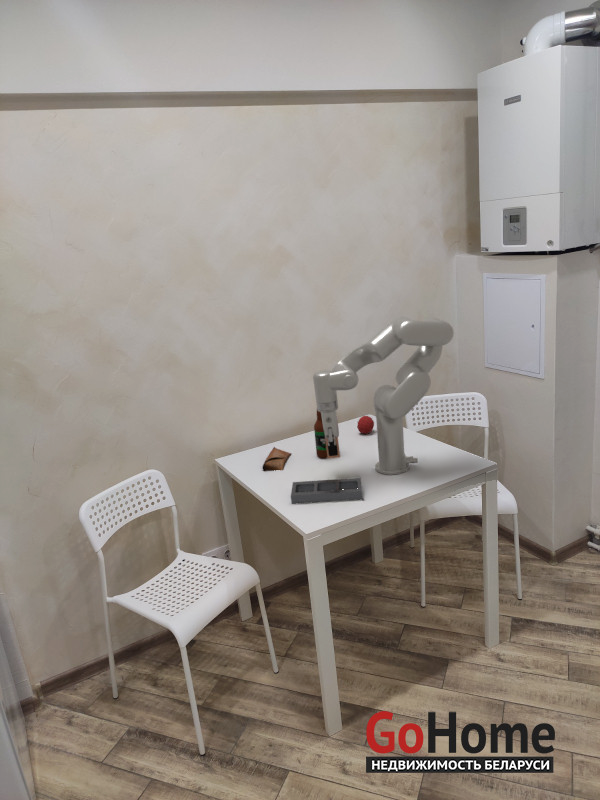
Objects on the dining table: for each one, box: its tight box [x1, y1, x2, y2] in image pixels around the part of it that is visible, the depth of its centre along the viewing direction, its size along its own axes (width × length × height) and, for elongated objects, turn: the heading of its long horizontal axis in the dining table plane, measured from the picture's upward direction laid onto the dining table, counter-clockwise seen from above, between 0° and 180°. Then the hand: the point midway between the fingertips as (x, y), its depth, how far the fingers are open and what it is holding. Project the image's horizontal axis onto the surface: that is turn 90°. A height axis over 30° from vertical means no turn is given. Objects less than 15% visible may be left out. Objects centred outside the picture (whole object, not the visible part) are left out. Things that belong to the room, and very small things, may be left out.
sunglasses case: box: [262, 446, 292, 472], centre depth 243 cm, size 18×7×7 cm, turn 170°
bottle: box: [313, 409, 328, 460], centre depth 242 cm, size 7×7×25 cm
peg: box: [325, 435, 341, 460], centre depth 221 cm, size 4×4×8 cm
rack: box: [290, 477, 364, 505], centre depth 210 cm, size 24×11×3 cm, turn 87°
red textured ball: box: [357, 415, 375, 435], centre depth 265 cm, size 8×8×8 cm
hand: (333, 452), depth 221 cm, fingers closed on peg, 4 cm apart
